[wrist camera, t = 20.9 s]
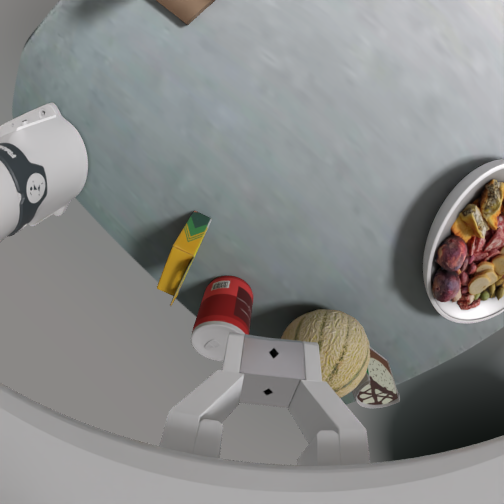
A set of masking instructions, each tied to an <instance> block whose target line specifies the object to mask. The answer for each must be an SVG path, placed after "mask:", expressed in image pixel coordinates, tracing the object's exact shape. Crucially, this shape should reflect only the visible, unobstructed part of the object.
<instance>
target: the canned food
mask: <svg viewBox="0 0 504 504" xmlns="http://www.w3.org/2000/svg"><path fill="white" fill-rule="evenodd" d="M252 304H253V294H252V290H251V288H250V286H249V285H248V284H247V283H246V282H245V281H244V280H242V279H240V278H238V277H234V276H221V277H218V278H216V279H214V280H213V281H212V282H211V283H210V284H209V285H208V286H207V288H206V290H205V293H204V296H203V299H202V302H201V305H200V308H199V312H198V315H197V318H196V321H195V324H194V327H193V331H192V336H191V343H192V346H193V348H194V349H195V350H196V351H197V352H198V353H199V354H201V355H202V356H204V357H206V358H209V359H212V360H216V361H224V355H225V350H226V345H227V339H228V335H229V332H234V333H240V334H244V336H245V334H248V335H249V331H250V322H251V313H252Z"/></svg>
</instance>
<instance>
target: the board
mask: <svg viewBox="0 0 504 504" xmlns="http://www.w3.org/2000/svg"><path fill="white" fill-rule="evenodd" d="M156 1H158V2H159V3H160V4H162V5H163V6H164V7H165V8H167V9H168V10H169V11H171V12H172V13H173V14H174V15H176V16H177V17H178V18H180V19H181V20H182V21H183V22H184V23H186V24H187V25H189V24H190V23H191V22H192V21H193V20H194V19H195V18H196V17H197V16H198V15H199V14H200V13H202V12H203V11H204V10H205V9H206V8H207V7H208V6H209V5H211V4H212V3H213V2H214V1H215V0H156Z"/></svg>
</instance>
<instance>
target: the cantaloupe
mask: <svg viewBox="0 0 504 504" xmlns="http://www.w3.org/2000/svg"><path fill="white" fill-rule="evenodd" d="M281 339H286V340H297V341H302V342H303V341H306V342H317V343H318V345H319V354H320V364H321V375H322V381H325V382H327V383H328V384H329V386H330V387H331V388H332V389H333V390H334V392H335V393H336V394H337V395H338V396H339V398H341V397H343V396H344V395H346V394H348V393H349V392H351V391H352V390H354V389H355V388H356V387H357V386H358V384H359V383H360V382H361V381H362V379H363V378H364V376H365V374H366V371H367V368H368V364H369V361H370V349H369V348H370V347H369V341H368V339H367V336H366V334H365V331H364V329H363V327H362V326H361V325H360V323H359V322H358V321H357V320H356V319H355V318H353V317H351V316H350V315H348V314H345V313H344V312H341V311H337V310H326V309H320V310H315V311H312V312H309V313H306V314H304V315H302V316H300V317H298V318H297V319H295V320H294V321H292V322H291V323H290V324H289V325H288V326H287V328H286V330H285V331H284V333H283V335H282V337H281Z"/></svg>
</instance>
